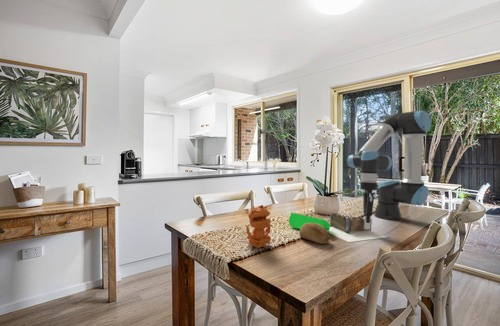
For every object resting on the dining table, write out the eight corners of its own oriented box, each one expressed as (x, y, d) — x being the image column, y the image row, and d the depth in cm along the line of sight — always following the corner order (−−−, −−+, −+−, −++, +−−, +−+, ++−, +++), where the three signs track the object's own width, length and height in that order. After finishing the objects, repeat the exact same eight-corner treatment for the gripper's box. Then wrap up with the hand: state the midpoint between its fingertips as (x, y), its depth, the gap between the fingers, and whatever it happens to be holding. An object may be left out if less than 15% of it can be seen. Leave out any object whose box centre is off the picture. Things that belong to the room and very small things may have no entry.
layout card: (352, 224, 144) (352, 223, 144) (387, 237, 123) (387, 236, 122) (317, 227, 136) (317, 227, 136) (348, 242, 115) (348, 241, 115)
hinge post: (347, 232, 129) (348, 216, 129) (350, 233, 127) (351, 217, 127) (344, 232, 129) (344, 216, 128) (347, 233, 127) (347, 217, 126)
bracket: (329, 240, 128) (333, 226, 130) (320, 234, 122) (324, 219, 124) (296, 230, 142) (300, 218, 144) (286, 224, 136) (291, 212, 138)
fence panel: (350, 232, 128) (351, 218, 127) (349, 231, 129) (349, 217, 129) (371, 230, 131) (371, 217, 131) (369, 229, 132) (370, 216, 132)
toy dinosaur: (253, 252, 101) (254, 207, 100) (241, 243, 111) (242, 202, 110) (277, 248, 106) (278, 205, 105) (263, 240, 116) (264, 200, 115)
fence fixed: (332, 225, 141) (332, 211, 140) (346, 232, 130) (347, 217, 129) (329, 225, 140) (329, 212, 140) (343, 232, 129) (344, 217, 129)
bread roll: (320, 248, 108) (321, 229, 107) (293, 238, 119) (294, 221, 119) (333, 243, 114) (334, 225, 113) (306, 234, 125) (307, 218, 125)
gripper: (380, 183, 120) (378, 233, 120) (373, 181, 133) (372, 226, 133) (363, 182, 122) (361, 231, 122) (358, 180, 134) (356, 225, 135)
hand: (367, 228), depth 128 cm, fingers closed
